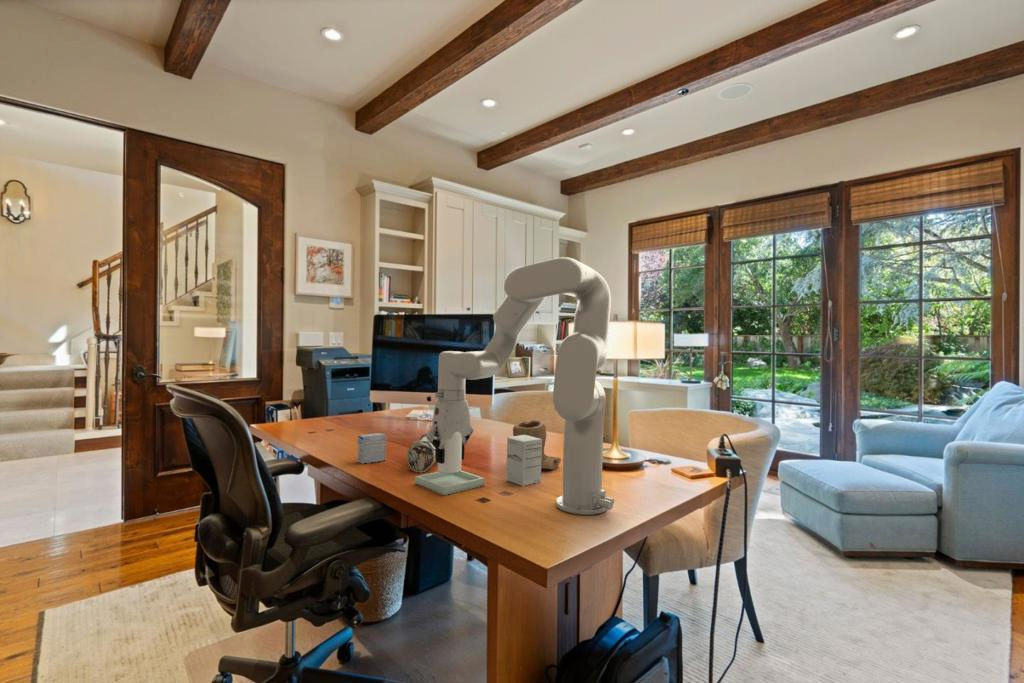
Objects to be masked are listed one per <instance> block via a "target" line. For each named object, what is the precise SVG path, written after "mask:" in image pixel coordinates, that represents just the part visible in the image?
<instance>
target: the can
mask: <svg viewBox="0 0 1024 683" xmlns="http://www.w3.org/2000/svg"><path fill="white" fill-rule="evenodd" d="M455 430H458V429H455ZM440 440H441V439H439V443H440ZM443 449H444V450H445V455H444V463H443V464H441V463H438V462H437V472H441V473H445V474H453V473H458V472H460V470H462V461H463V460H462V436H461V433H459V432H455V433H454V434H453V435H452V438H450V439H445V443H444V445H443Z"/></svg>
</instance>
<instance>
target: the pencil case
mask: <svg viewBox="0 0 1024 683" xmlns="http://www.w3.org/2000/svg"><path fill="white" fill-rule="evenodd" d="M429 431H430V430H428V431H427V432H426V433H423V434H422V435H421V436H420V438H419V439H418V440H415V441H414V440H413V441H412V445H411V446H410V447H409V448H408V450H407V453H406V458H407V463H408V466H409V468H410V469H411V470H412V471H413V472H415V473H418V472H420V474H422V473H421V472H424V473H426V472H427V471H429V470H430V469H431V468H432V467H433V466H434V464H435V462H436V459H435V447H434V446H433V445H432V444H431V442H430V441H429V440H428V439H427V438H426V435H427V434H428V432H429ZM434 438H435V439H436V437H435V436H434Z"/></svg>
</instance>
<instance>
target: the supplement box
mask: <svg viewBox="0 0 1024 683" xmlns="http://www.w3.org/2000/svg"><path fill="white" fill-rule="evenodd" d="M506 439H507V440H506V441H507V445H506V448H507V449H506V453H507V454H506V474H505V475H506V479H505V480H506V482H507V481H508V482H511V483H513V484H516V485H519V486H521V487H526V486H525V485H527V486H530V485H529V484H531V485H534V484H533V483H536V484H539V483H538V482H540V483H542V469H541V457H542V439H540V438H536V437H532V436H528V435H519V436H513V435H512V436H508V437H507V438H506Z"/></svg>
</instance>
